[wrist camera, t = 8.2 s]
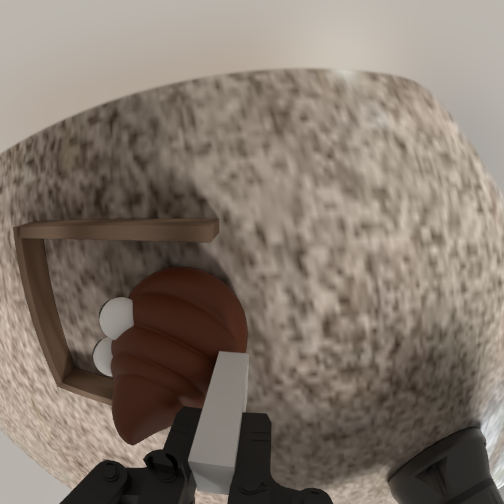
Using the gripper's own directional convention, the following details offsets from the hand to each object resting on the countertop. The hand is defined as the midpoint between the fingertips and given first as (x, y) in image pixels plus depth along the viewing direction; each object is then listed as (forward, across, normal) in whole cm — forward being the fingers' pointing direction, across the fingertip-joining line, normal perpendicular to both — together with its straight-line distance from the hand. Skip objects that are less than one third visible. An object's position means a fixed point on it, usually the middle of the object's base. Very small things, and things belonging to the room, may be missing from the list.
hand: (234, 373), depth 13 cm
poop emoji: (+5, +4, 0) cm, 6 cm away
